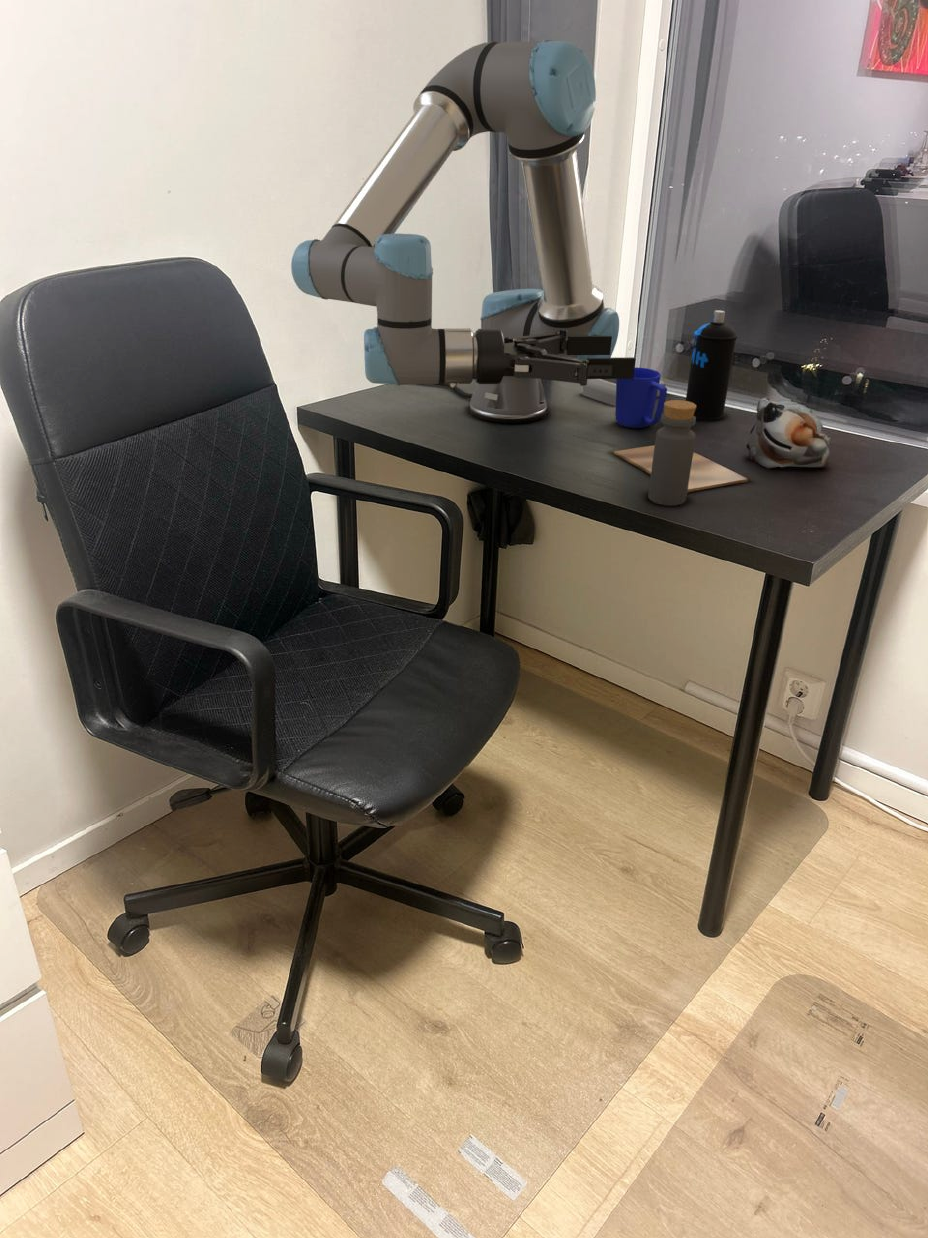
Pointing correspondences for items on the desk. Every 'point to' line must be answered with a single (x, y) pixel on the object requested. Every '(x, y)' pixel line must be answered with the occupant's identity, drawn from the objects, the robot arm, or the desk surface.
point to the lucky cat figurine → (787, 436)
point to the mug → (639, 399)
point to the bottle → (673, 454)
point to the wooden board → (700, 475)
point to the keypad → (604, 390)
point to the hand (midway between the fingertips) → (621, 356)
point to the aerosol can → (711, 368)
